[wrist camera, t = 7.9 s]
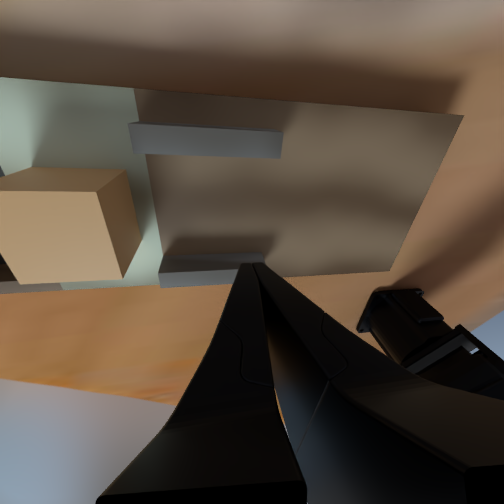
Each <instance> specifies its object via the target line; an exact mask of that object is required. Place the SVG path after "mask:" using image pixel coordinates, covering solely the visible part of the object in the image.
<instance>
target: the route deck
mask: <svg viewBox="0 0 504 504" xmlns="http://www.w3.org/2000/svg"><path fill="white" fill-rule="evenodd" d="M463 117H464V115H453V114H441V113H428V112H416V111H404V110H392V109H380V108H368V107H356V106H343V105H331V104H319V103H307V102H295V101H283V100H271V99H258V98H246V97H234V96H222V95H210V94H198V93H186V92H174V91H161V90H149V89H137V88H125V87H113V86H101V85H89V84H76V83H64V82H52V81H40V80H28V79H16V78H4V77H0V177H3V176H6V175H9V174H12V173H15V172H18V171H21V170H24V169H27V168H30V167H54V168H91V169H126V172H127V177H128V181H129V186H130V190H131V195H132V199H133V204H134V208H135V212H136V217H137V221H138V226H139V230H140V235H141V239H142V241H141V243H140V245H139V247H138V250H137V252H136V254H135V256H134V258H133V260H132V262H131V264H130V266H129V268H128V270H127V272H126V274H125V276H124V278H123V279H118V280H98V281H79V282H59V283H40V284H19V282H18V281H17V279H16V277H15V276H14V274H13V273H12V271H11V269H10V268H9V266H8V265H7V263H6V261H5V260H4V258H3V257H2V255H1V253H0V294H7V293H24V292H41V291H58V290H75V289H92V288H109V287H126V286H143V285H160V287H161V288H170V287H186V286H203V285H219V284H233V283H234V280H235V277H236V274H237V272H238V269H239V266H240V264H241V263H251V264H252V263H253V262H263V263H264V264H265V265H267V266H268V267H269V268H270V269H272V270H273V271H274V272H275V273H277V274H278V275H279V276H280V277H297V276H314V275H332V274H349V273H366V272H383V271H390V269H391V267H392V265H393V263H394V260H395V258H396V256H397V254H398V252H399V250H400V248H401V246H402V244H403V242H404V240H405V238H406V235H407V233H408V231H409V229H410V227H411V225H412V223H413V221H414V219H415V217H416V215H417V213H418V210H419V208H420V206H421V204H422V202H423V200H424V198H425V196H426V194H427V192H428V190H429V188H430V185H431V183H432V181H433V179H434V177H435V175H436V173H437V171H438V169H439V167H440V165H441V163H442V161H443V158H444V156H445V154H446V152H447V150H448V148H449V146H450V144H451V142H452V140H453V138H454V136H455V133H456V131H457V129H458V127H459V125H460V123H461V121H462V119H463Z"/></svg>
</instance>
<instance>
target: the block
mask: <svg viewBox="0 0 504 504" xmlns="http://www.w3.org/2000/svg"><path fill="white" fill-rule="evenodd" d="M141 241H142V239H141V235H140V230H139V226H138V221H137V217H136V212H135V208H134V204H133V199H132V195H131V190H130V186H129V181H128V177H127V172H126V169H91V168H54V167H30V168H27V169H24V170H21V171H18V172H15V173H12V174H9V175H6V176H3V177H0V253H1V255H2V257H3V258H4V260H5V261H6V263H7V265H8V266H9V268H10V269H11V271H12V273H13V274H14V276H15V277H16V279H17V281H18V282H19V284H40V283H59V282H79V281H98V280H118V279H123V278H124V276H125V274H126V272H127V270H128V268H129V266H130V264H131V262H132V260H133V258H134V256H135V254H136V252H137V250H138V247H139V245H140V243H141Z"/></svg>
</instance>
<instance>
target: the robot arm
mask: <svg viewBox="0 0 504 504" xmlns="http://www.w3.org/2000/svg"><path fill="white" fill-rule="evenodd" d="M423 294H424V291H423V290H421V289H407V290H394V291H381V292H375V293H373V294H372V295H371V297H370V299H369V302H368V304H367V306H366V308H365V310H364V312H363V315H362V317H361V319H360V321H359V323H358V326H357V328H356V330H357V331H358V333H365V332H370V333H371V334H372V336H373V337H374V338H375V340H376V341H377V342H378V344H379V345H380V347H381V348H382V349H383V351H384V352H385V353H386V355H387V356H386V355H385V354H383V353H382V352H380V351H379V350H377V349H376V348H374V347H373V346H371V345H370V344H368V343H367V342H365V341H364V340H362V339H361V338H359V337H358V336H357V335H355V334H354V333H352V332H351V331H349V330H348V329H347V328H345V327H344V326H343V325H341V324H340V323H339V322H337V321H336V320H335V319H334V318H332V317H331V316H330V315H328V314H327V313H324V311H323V310H322V309H321V308H320V307H318V306H317V305H316V304H314V303H313V302H312V301H311V300H309V299H308V298H307V297H306V296H304V295H303V294H302V293H301V292H299V291H298V290H297V289H296V288H294V287H293V286H292V285H291V284H289V283H288V282H287V281H286V280H284V279H283V278H282V277H280V276H279V275H278V274H277V273H275V272H274V271H273V270H272V269H270V268H269V267H268V266H267V265H265V264H264V263H263V262H253V263H252V264H251V263H241V264H240V266H239V269H238V272H237V274H236V277H235V280H234V283H233V285H232V288H231V291H230V293H229V296H228V299H227V301H226V304H225V307H224V310H223V312H222V315H221V318H220V320H219V323H218V325H217V328H216V331H215V333H214V336H213V338H212V340H211V343H210V345H209V347H208V349H207V351H206V353H205V355H204V357H203V359H202V361H201V363H200V365H199V367H198V368H197V370H196V372H195V374H194V376H193V377H192V379H191V381H190V383H189V385H188V387H187V388H186V390H185V392H184V394H183V396H182V398H181V399H180V401H179V403H178V405H177V406H176V408H175V410H174V411H173V413H172V415H171V416H170V418H169V419H168V421H167V422H166V424H165V425H164V426H163V428H162V429H161V430H160V432H159V433H158V434H157V435H156V436H155V437H154V438H153V439H152V441H151V442H150V443H149V444H148V445H147V446H146V447H145V448H144V449H143V450H142V451H141V452H140V453H139V454H138V455H137V457H136V458H135V459H134V460H133V461H132V462H131V463H130V464H129V465H128V466H127V467H126V468H125V469H124V471H123V472H122V473H121V474H120V475H119V476H118V477H117V478H116V479H115V480H114V481H113V482H112V483H111V484H110V485H109V486H108V488H107V489H106V490H105V491H104V492H103V493H102V494H101V495H100V496H99V497H98V498H97V500H96V504H307V503H308V504H504V361H503V360H502V359H501V358H500V357H499V356H498V355H496V354H495V353H494V352H493V351H492V350H490V349H489V348H488V347H487V346H486V345H484V344H483V343H482V342H481V341H479V340H478V339H477V338H476V337H475V336H474V335H472V334H471V333H470V332H469V331H468V330H467V329H465V328H464V327H463V326H462V325H461V324H459V325H457V326H456V327H455V329H452V328H451V327H450V326H449V325H447V324H446V323H445V322H444V321H443V320H444V317H443V316H442V315H441V314H440V313H439V312H438V311H437V310H436V309H434V308H433V307H432V306H431V305H430V304H429V303H428V302H427V301H425V300H424V299H423V298H422V296H423ZM475 348H478V349H479V350H478V351H477V352H475V353H474V354H471V353H470V351H472V350H473V349H475ZM274 386H275V387H274ZM274 388H275V390H276V393H277V397H278V400H279V404H280V407H281V411H282V414H283V418H284V421H285V425H286V428H287V432H288V435H287V432H286V430H285V427H284V424H283V422H282V419H281V416H280V413H279V409H278V405H277V400H276V394H275V390H274ZM288 436H289V437H288ZM289 439H290V440H289Z"/></svg>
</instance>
